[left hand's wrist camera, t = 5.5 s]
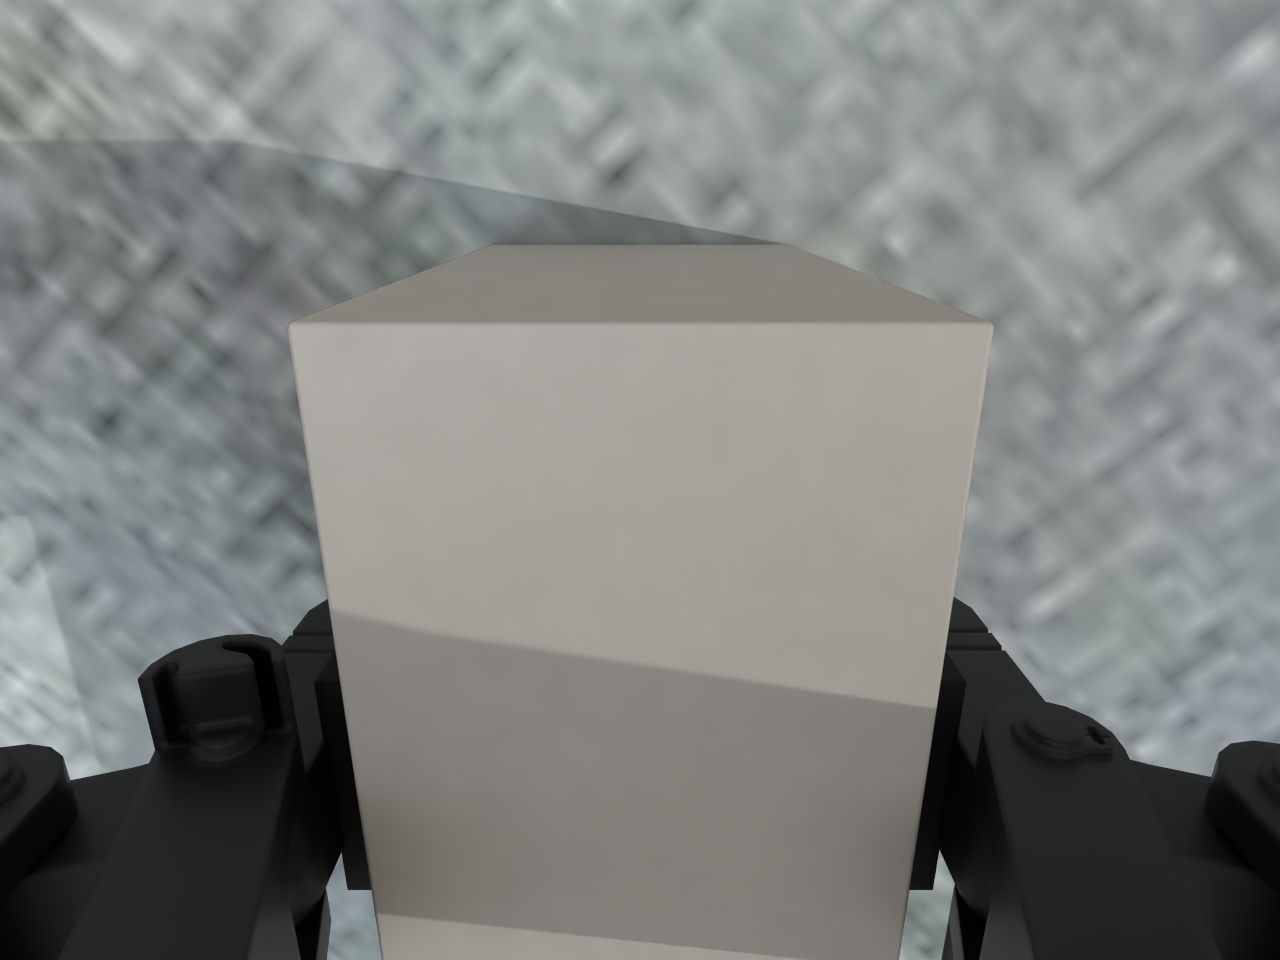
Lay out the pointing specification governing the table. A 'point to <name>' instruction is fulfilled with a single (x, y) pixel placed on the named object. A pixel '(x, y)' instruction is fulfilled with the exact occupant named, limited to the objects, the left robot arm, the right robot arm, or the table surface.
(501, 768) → the beam
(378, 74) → the table surface
